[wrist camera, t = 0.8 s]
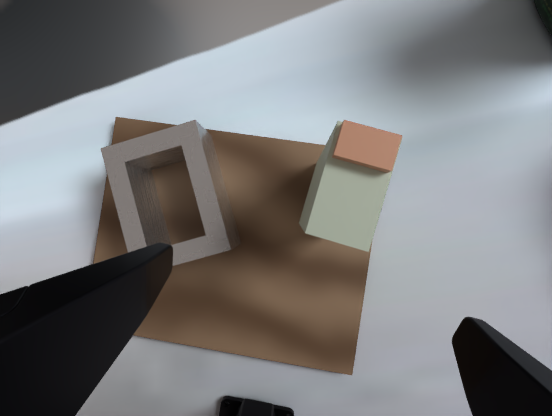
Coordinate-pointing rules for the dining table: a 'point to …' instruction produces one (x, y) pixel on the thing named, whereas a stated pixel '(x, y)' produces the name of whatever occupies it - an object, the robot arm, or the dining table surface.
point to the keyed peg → (350, 184)
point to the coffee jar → (545, 12)
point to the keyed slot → (144, 197)
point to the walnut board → (251, 259)
